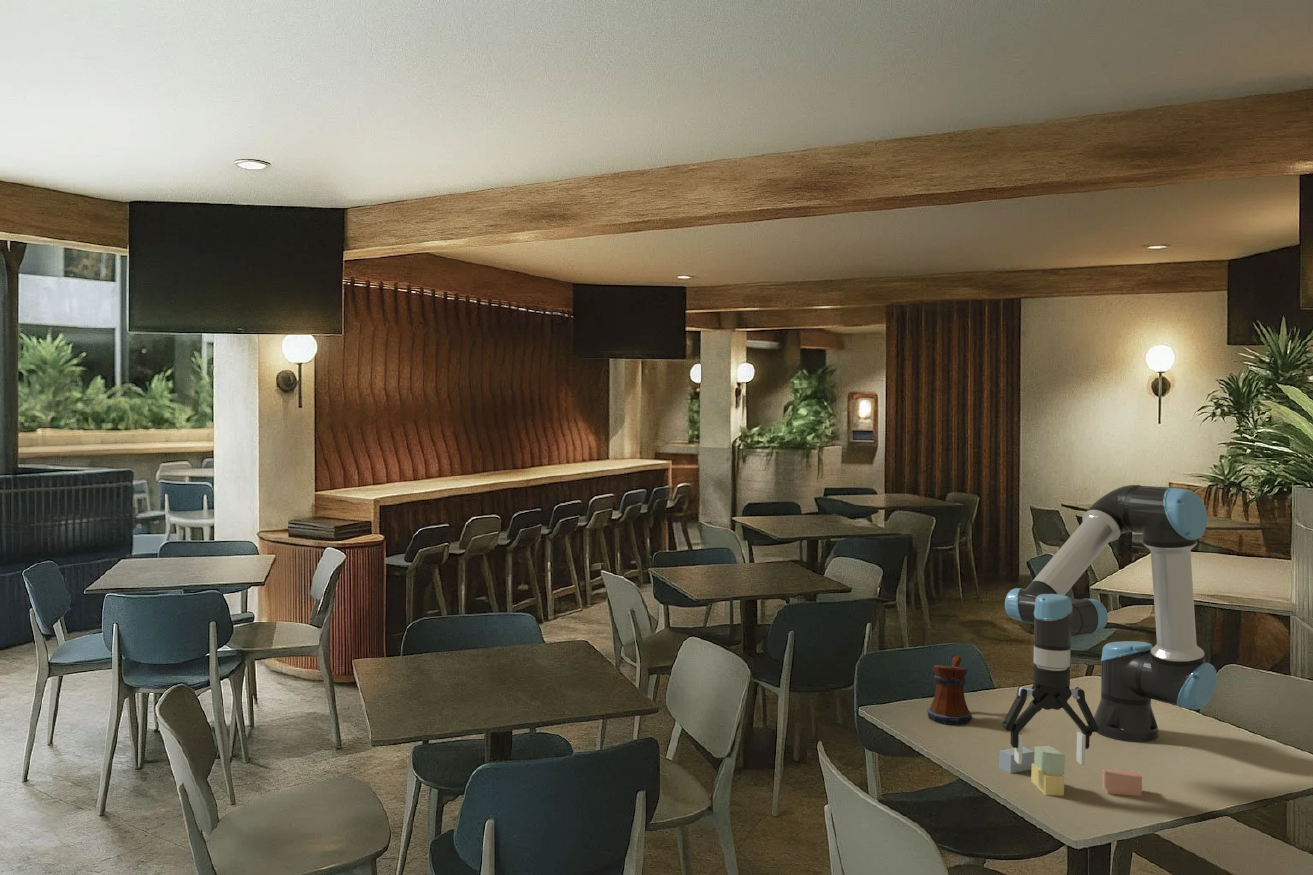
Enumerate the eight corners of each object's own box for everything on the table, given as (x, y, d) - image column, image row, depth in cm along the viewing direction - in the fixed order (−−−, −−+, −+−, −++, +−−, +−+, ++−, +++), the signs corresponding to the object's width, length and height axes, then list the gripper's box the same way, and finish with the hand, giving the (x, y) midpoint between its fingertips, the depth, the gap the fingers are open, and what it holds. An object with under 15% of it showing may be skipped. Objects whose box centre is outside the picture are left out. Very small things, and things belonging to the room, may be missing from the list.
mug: (935, 703, 279) (936, 650, 279) (978, 709, 274) (979, 655, 274) (923, 721, 263) (924, 665, 263) (968, 728, 258) (969, 670, 258)
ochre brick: (1031, 781, 222) (1031, 763, 222) (1049, 782, 222) (1049, 763, 222) (1045, 795, 214) (1045, 776, 214) (1063, 796, 214) (1064, 776, 214)
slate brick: (1022, 764, 233) (1022, 746, 233) (1033, 769, 230) (1034, 751, 229) (998, 768, 230) (999, 750, 230) (1010, 773, 227) (1010, 755, 227)
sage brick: (1034, 765, 220) (1034, 746, 220) (1049, 764, 221) (1050, 745, 221) (1048, 775, 215) (1049, 756, 214) (1064, 774, 215) (1064, 755, 215)
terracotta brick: (1136, 789, 218) (1136, 770, 218) (1141, 796, 214) (1142, 776, 214) (1102, 787, 219) (1102, 768, 219) (1107, 793, 215) (1107, 774, 215)
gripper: (1101, 662, 222) (1099, 757, 222) (988, 660, 222) (986, 755, 222) (1116, 671, 214) (1114, 769, 215) (1000, 669, 214) (997, 767, 215)
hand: (1049, 762), depth 219 cm, fingers open, 13 cm apart
